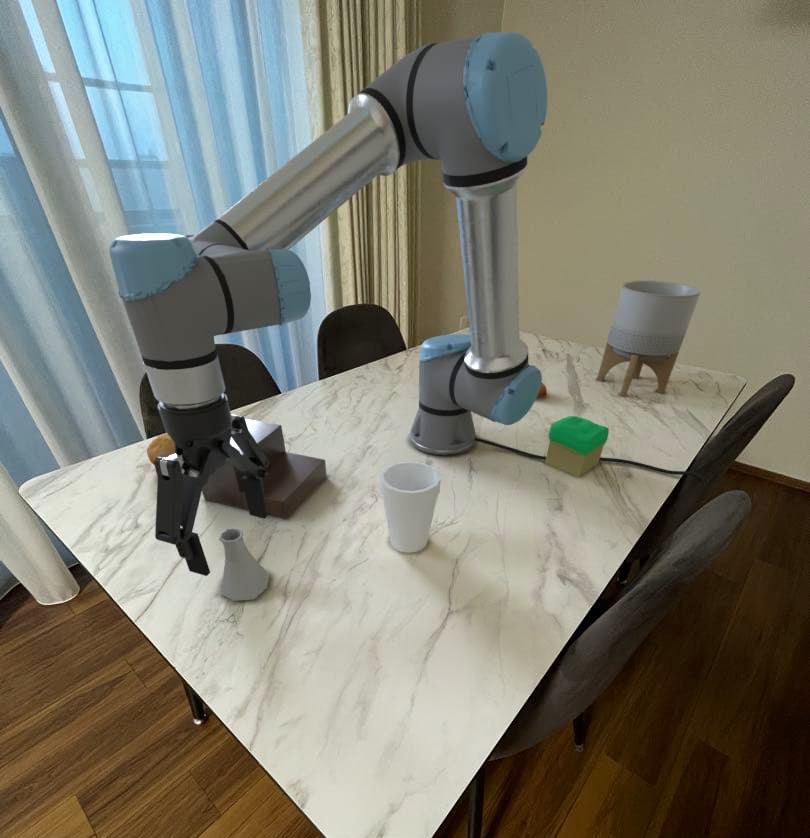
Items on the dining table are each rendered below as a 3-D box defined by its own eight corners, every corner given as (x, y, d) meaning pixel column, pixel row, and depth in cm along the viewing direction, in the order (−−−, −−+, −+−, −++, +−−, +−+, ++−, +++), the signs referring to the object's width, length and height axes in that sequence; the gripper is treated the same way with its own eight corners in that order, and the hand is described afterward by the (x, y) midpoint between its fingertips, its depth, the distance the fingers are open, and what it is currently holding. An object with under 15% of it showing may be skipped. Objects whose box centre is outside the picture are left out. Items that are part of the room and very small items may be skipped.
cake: (559, 446, 108) (569, 405, 102) (602, 463, 102) (616, 420, 96) (536, 461, 103) (545, 418, 97) (580, 479, 97) (592, 435, 91)
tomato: (551, 397, 127) (537, 375, 125) (529, 412, 130) (514, 391, 128) (548, 390, 134) (534, 369, 132) (527, 405, 137) (513, 385, 135)
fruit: (206, 451, 102) (184, 430, 95) (190, 483, 100) (167, 464, 92) (175, 445, 104) (151, 424, 97) (159, 476, 102) (134, 457, 94)
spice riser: (326, 476, 97) (321, 432, 91) (286, 519, 86) (277, 472, 79) (252, 461, 102) (242, 418, 96) (204, 500, 90) (190, 453, 84)
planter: (669, 382, 141) (705, 285, 124) (657, 403, 128) (695, 299, 112) (605, 370, 148) (630, 277, 132) (588, 389, 136) (614, 289, 120)
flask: (257, 605, 69) (243, 554, 63) (212, 598, 70) (193, 547, 64) (277, 572, 75) (266, 522, 68) (235, 566, 76) (220, 516, 69)
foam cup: (380, 525, 84) (379, 462, 76) (431, 523, 85) (435, 460, 77) (383, 560, 77) (381, 494, 69) (439, 557, 78) (444, 492, 70)
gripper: (230, 359, 64) (258, 491, 77) (72, 437, 45) (144, 593, 58) (279, 366, 62) (299, 501, 75) (134, 451, 43) (194, 609, 56)
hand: (231, 541), depth 67 cm, fingers open, 13 cm apart
